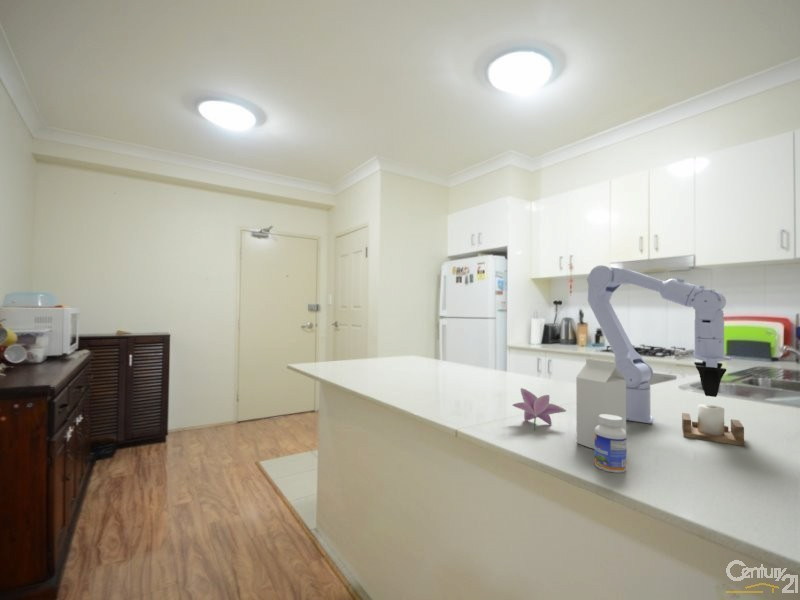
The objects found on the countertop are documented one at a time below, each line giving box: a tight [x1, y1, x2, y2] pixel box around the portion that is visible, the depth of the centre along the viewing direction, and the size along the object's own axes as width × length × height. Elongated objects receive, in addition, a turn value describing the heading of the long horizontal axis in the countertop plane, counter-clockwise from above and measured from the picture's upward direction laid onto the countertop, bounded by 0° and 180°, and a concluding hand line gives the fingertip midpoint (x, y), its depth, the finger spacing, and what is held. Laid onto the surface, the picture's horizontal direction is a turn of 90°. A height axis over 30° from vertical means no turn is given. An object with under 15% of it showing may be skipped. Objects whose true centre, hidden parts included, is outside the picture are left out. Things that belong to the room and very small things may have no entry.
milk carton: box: [575, 358, 627, 450], centre depth 86 cm, size 7×7×19 cm
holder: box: [681, 412, 746, 447], centre depth 93 cm, size 11×8×4 cm
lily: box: [511, 387, 567, 432], centre depth 99 cm, size 12×12×10 cm
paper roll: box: [697, 404, 725, 436], centre depth 93 cm, size 5×5×6 cm
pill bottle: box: [593, 414, 627, 474], centre depth 74 cm, size 5×5×10 cm
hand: (709, 393), depth 95 cm, fingers open, 7 cm apart
